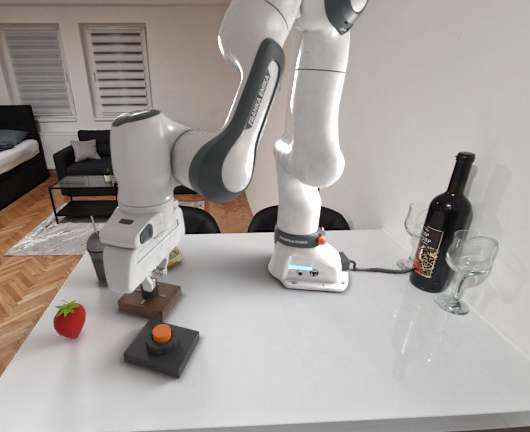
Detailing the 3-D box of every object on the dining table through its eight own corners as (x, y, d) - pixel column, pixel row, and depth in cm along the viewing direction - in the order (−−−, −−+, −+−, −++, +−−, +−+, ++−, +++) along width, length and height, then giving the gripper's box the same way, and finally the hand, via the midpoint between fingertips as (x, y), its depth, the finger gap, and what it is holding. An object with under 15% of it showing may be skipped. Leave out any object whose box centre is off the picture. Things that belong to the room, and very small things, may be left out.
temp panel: (181, 295, 79) (181, 285, 77) (163, 322, 70) (161, 311, 69) (141, 286, 82) (140, 277, 81) (119, 310, 74) (117, 300, 72)
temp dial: (147, 286, 77) (145, 274, 76) (161, 289, 76) (159, 277, 75) (138, 296, 74) (136, 283, 72) (153, 299, 73) (151, 286, 71)
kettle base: (199, 339, 65) (198, 324, 64) (179, 378, 57) (177, 363, 55) (150, 326, 69) (149, 312, 67) (124, 361, 60) (121, 346, 59)
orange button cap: (174, 332, 62) (173, 326, 62) (165, 345, 59) (165, 339, 59) (158, 328, 63) (158, 322, 63) (149, 341, 60) (148, 334, 60)
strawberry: (53, 352, 62) (41, 314, 58) (68, 325, 69) (58, 289, 65) (82, 350, 63) (72, 313, 59) (94, 324, 70) (86, 288, 66)
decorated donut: (188, 264, 92) (187, 253, 91) (154, 275, 87) (153, 264, 85) (173, 249, 100) (172, 239, 99) (141, 259, 95) (140, 248, 93)
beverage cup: (113, 291, 80) (100, 223, 72) (88, 288, 82) (73, 221, 73) (126, 275, 87) (116, 211, 79) (103, 272, 88) (91, 209, 80)
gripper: (161, 191, 60) (167, 251, 66) (90, 238, 42) (106, 314, 48) (190, 195, 58) (193, 256, 64) (128, 245, 41) (140, 324, 46)
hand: (155, 282), depth 56 cm, fingers open, 3 cm apart
